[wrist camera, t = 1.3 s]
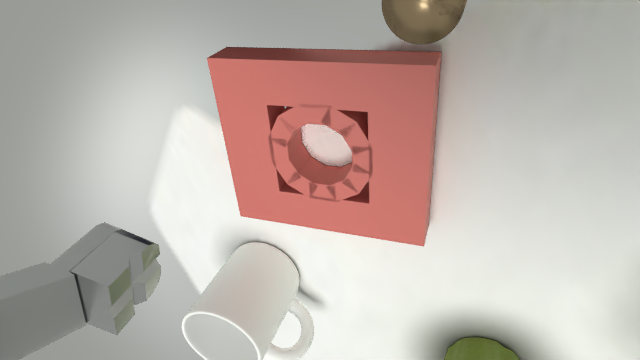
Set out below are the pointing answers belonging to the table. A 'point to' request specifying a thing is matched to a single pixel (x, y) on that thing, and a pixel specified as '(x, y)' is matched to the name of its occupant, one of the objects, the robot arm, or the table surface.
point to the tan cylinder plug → (422, 18)
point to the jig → (345, 118)
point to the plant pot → (479, 350)
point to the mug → (248, 308)
